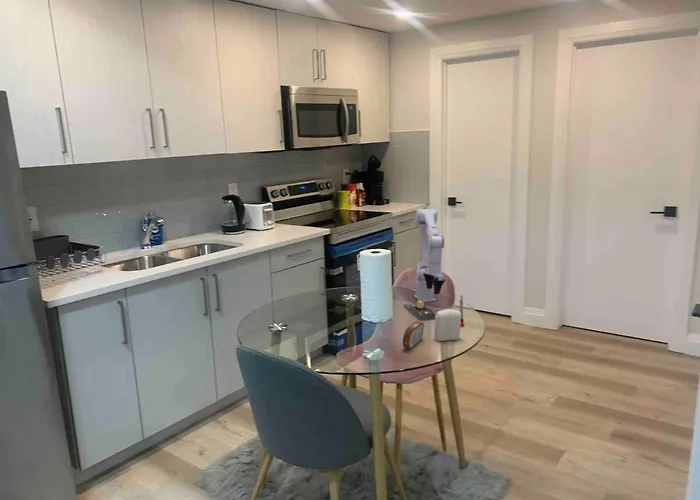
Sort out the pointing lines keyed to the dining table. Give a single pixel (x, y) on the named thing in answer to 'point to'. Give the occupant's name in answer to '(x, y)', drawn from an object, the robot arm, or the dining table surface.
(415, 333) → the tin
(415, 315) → the lower chain end
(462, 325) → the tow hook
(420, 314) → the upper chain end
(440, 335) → the photo printer
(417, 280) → the robot arm
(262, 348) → the dining table surface
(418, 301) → the pin
